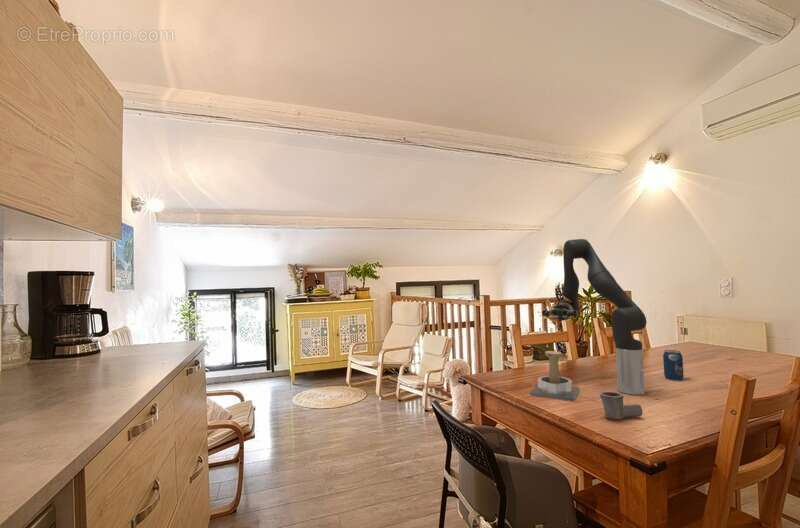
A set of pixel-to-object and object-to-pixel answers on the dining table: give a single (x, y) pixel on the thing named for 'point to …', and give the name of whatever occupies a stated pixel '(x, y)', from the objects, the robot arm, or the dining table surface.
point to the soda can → (673, 365)
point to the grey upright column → (554, 366)
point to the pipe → (618, 406)
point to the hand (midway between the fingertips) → (557, 314)
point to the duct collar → (555, 389)
